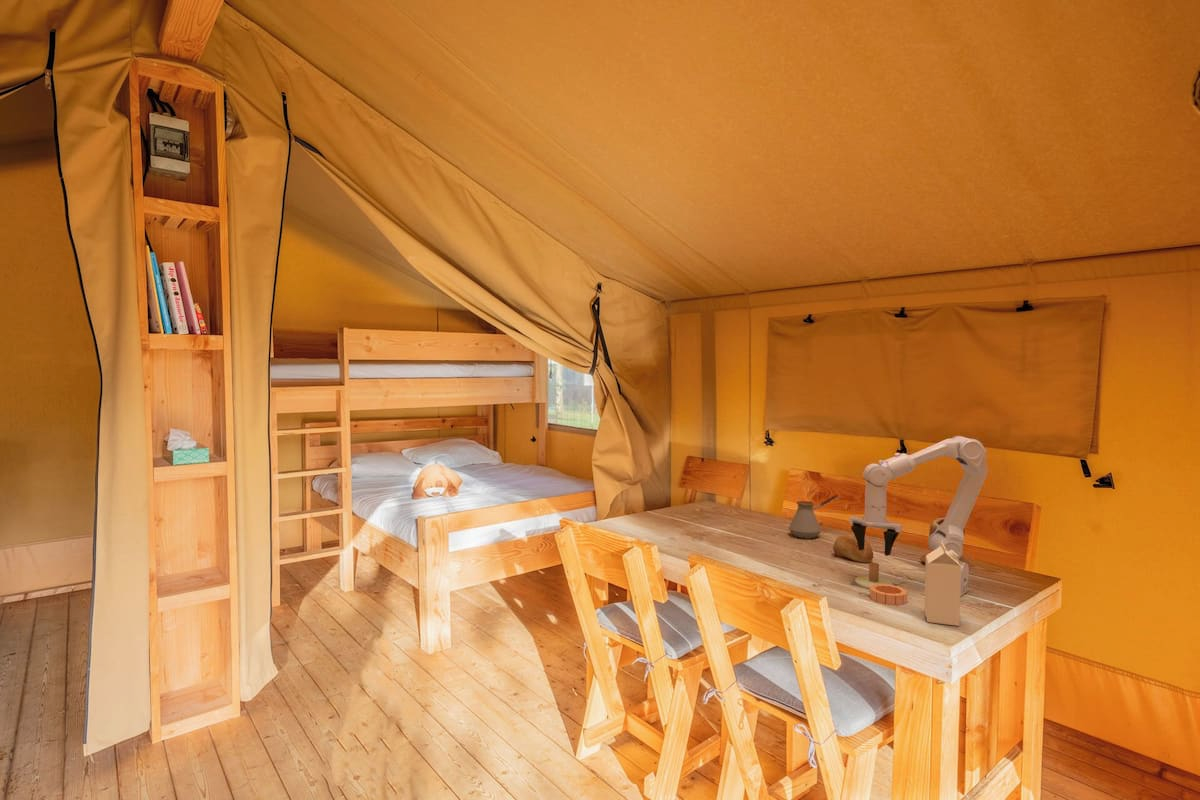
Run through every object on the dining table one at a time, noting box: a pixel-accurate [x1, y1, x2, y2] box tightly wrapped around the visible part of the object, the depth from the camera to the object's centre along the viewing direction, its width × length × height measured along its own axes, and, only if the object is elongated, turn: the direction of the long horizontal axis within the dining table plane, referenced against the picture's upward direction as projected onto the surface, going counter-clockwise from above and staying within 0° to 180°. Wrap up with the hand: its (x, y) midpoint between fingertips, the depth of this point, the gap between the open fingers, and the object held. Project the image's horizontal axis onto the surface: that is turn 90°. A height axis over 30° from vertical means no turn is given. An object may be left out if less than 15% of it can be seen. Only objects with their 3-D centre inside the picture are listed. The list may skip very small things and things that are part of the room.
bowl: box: [869, 584, 908, 606], centre depth 179 cm, size 9×9×3 cm
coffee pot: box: [788, 494, 841, 540], centre depth 249 cm, size 21×12×15 cm, turn 110°
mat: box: [849, 580, 899, 590], centre depth 191 cm, size 10×10×1 cm
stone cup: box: [919, 517, 970, 564], centre depth 211 cm, size 15×12×15 cm
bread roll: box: [832, 534, 874, 564], centre depth 218 cm, size 10×15×8 cm, turn 23°
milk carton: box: [923, 542, 961, 627], centre depth 165 cm, size 7×7×19 cm
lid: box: [854, 562, 894, 590], centre depth 191 cm, size 10×10×6 cm
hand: (874, 552), depth 190 cm, fingers open, 7 cm apart
